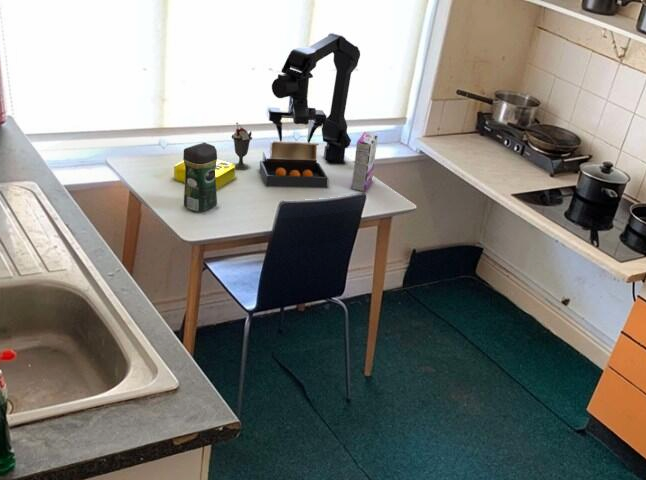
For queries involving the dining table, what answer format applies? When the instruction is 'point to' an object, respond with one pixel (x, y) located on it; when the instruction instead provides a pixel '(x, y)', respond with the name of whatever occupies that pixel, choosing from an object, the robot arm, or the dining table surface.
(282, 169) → the orange ball
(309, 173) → the orange ball
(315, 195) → the dining table surface
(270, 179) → the dark grey tray
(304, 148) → the wooden box
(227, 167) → the yellow flat box
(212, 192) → the coffee jar
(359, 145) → the candy bar box
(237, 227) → the dining table surface
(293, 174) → the orange ball
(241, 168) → the sundae
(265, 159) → the stand
